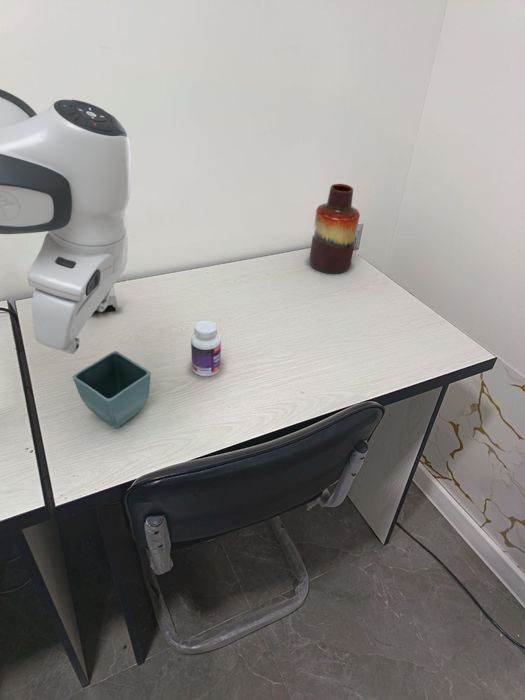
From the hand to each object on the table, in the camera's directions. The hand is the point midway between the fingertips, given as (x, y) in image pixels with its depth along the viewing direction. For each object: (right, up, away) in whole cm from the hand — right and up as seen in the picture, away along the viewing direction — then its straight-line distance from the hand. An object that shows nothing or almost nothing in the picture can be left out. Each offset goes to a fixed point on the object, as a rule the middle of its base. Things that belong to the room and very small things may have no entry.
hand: (85, 327), depth 70 cm
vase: (+43, +19, +60) cm, 76 cm away
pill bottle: (+14, -7, +25) cm, 29 cm away
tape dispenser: (-10, +5, +37) cm, 39 cm away
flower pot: (+1, -14, +14) cm, 20 cm away
